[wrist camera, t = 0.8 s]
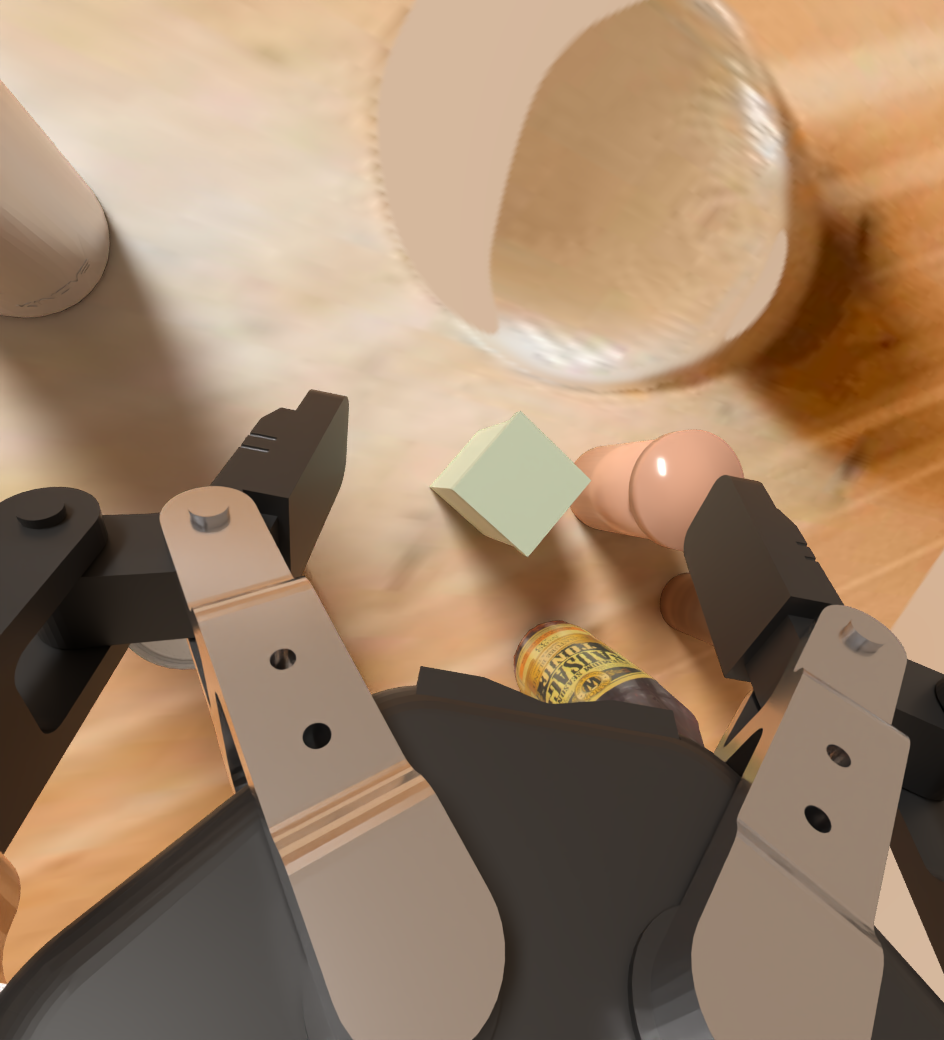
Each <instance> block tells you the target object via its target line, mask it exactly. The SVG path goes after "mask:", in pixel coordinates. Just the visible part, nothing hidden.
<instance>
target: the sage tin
mask: <svg viewBox="0 0 944 1040" xmlns="http://www.w3.org/2000/svg"><path fill="white" fill-rule="evenodd" d="M590 482H591V480H590V479H589V478H588V477H587V476H586V475H585V474H584V473H583V472H582V471H581V470H580V469H579V468H578V467H577V466H576V465H575V464H574V463H573V462H572V461H571V460H570V459H569V458H568V457H567V456H566V455H565V454H564V453H563V452H562V451H561V450H560V449H559V448H558V447H557V446H556V445H555V444H554V443H553V442H552V441H551V440H550V439H549V438H548V437H547V436H546V435H545V434H544V433H543V432H542V431H541V430H540V429H539V428H537V427H536V426H535V425H534V424H533V423H532V422H531V421H530V420H529V419H528V418H527V417H526V416H525V415H524V414H523V413H522V412H521V411H519V412H516V413H515V414H514V415H513V416H512V418H511V419H510V420H509V421H506V422H503V423H500V424H497V425H494V426H491V427H488V428H485V429H482V430H479V431H477V433H476V434H475V435H474V436H473V437H472V438H471V439H470V441H469V442H468V443H467V444H466V445H465V446H464V448H463V449H462V450H461V451H460V452H459V453H458V454H457V456H456V457H455V458H454V459H453V460H452V461H451V463H450V464H449V465H448V466H447V467H446V468H445V469H444V471H443V472H442V473H441V474H440V475H439V476H438V478H437V479H436V480H435V481H434V482H433V483H432V484H431V486H430V488H431V489H432V490H434V491H435V492H436V493H437V494H438V495H439V496H440V497H441V498H443V499H444V500H445V501H446V502H447V503H448V504H449V505H450V506H452V507H453V508H454V509H455V510H456V511H457V512H458V513H459V514H461V515H462V516H463V517H464V518H465V519H466V520H467V521H468V522H470V523H471V524H472V525H473V526H474V527H475V528H476V529H477V530H479V531H480V532H481V533H482V534H483V535H484V536H487V537H490V538H492V539H495V540H498V541H500V542H503V543H506V544H508V545H511V546H513V547H514V548H516V549H517V550H518V551H519V552H520V553H521V554H522V555H524V556H526V557H528V556H529V555H530V554H531V553H532V552H533V550H534V549H535V548H536V547H537V546H538V544H539V543H540V542H541V541H542V539H543V538H544V537H545V536H546V535H547V533H548V532H549V531H550V530H551V529H552V527H553V526H554V525H555V524H556V523H557V521H558V520H559V519H560V518H561V517H562V515H563V514H564V513H565V512H566V511H567V509H568V508H569V507H570V506H571V504H572V503H573V502H574V501H575V500H576V498H577V497H578V496H579V495H580V494H581V492H582V491H583V490H584V489H585V488H586V486H587V485H588V484H589V483H590Z"/></svg>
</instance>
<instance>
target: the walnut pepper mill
mask: <svg viewBox="0 0 944 1040" xmlns="http://www.w3.org/2000/svg"><path fill="white" fill-rule="evenodd" d="M660 609H661V613H662V616H663V618H664V620H665V621H666V622H667V624H668V625H670V626H671V627H673V628H675V629H677V630H679V631H681V632H684V633H686V634H688V635H690V636H693V637H695V638H697V639H700V640H702V641H704V642H706V643H709V644H711V645H713V646H714V644H713V641H712V638H711V635H710V632H709V629H708V626H707V623H706V620H705V617H704V614H703V611H702V608H701V605H700V602H699V599H698V596H697V593H696V590H695V587H694V584H693V581H692V578H691V575H690V573H683V574H680V575H677V576H675V577H674V578H672V579H671V580H670V581H669V582H668V583H667V585H666V586H665V588H664V590H663V592H662V595H661V599H660Z"/></svg>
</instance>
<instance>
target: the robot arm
mask: <svg viewBox="0 0 944 1040" xmlns="http://www.w3.org/2000/svg"><path fill="white" fill-rule="evenodd" d="M109 247H110V240H109V230H108V224H107V221H106V218H105V215H104V212H103V209H102V207H101V205H100V203H99V201H98V200H97V198H96V196H95V194H94V193H93V191H92V190H91V188H90V187H89V186H88V185H87V184H86V182H85V181H84V180H83V179H82V178H81V176H80V175H79V174H78V173H77V171H76V170H75V169H74V168H73V167H72V165H71V164H70V163H69V162H68V161H67V159H66V158H65V157H64V156H63V155H62V153H61V152H60V151H59V150H58V148H57V147H56V146H55V144H54V143H53V142H52V141H51V139H50V138H49V137H48V136H47V135H46V133H45V132H44V131H43V130H42V129H41V128H40V126H39V125H38V124H37V123H36V122H35V120H34V119H33V118H32V117H31V116H30V114H29V113H28V112H27V111H26V110H25V108H24V107H23V106H22V105H21V104H20V102H19V101H18V100H17V99H16V98H15V96H14V95H13V94H12V93H11V92H10V90H9V89H8V88H7V87H6V86H5V84H4V83H3V82H2V81H1V80H0V315H4V316H13V317H21V318H26V317H41V316H46V315H50V314H53V313H57V312H61V311H63V310H65V309H67V308H69V307H71V306H73V305H74V304H76V303H78V302H79V301H80V300H82V299H83V298H84V297H85V296H86V295H87V294H89V293H90V292H91V291H92V290H93V288H94V287H95V285H96V284H97V283H98V281H99V280H100V278H101V277H102V274H103V272H104V269H105V267H106V264H107V262H108V255H109ZM348 413H349V401H348V397H347V396H342V395H337V394H332V393H327V392H322V391H317V390H312V389H311V390H310V391H309V392H308V393H307V395H306V396H305V398H304V399H303V401H302V402H301V404H300V405H299V406H298V408H297V409H296V411H295V410H290V409H285V408H279V409H278V410H276V411H274V412H272V413H270V414H268V415H266V416H264V417H262V418H261V419H260V420H259V422H258V423H257V424H256V426H255V427H254V428H253V430H252V431H251V432H250V435H248V436H247V437H246V439H245V440H244V441H243V443H242V445H241V447H239V448H238V449H237V451H236V452H235V453H234V455H233V456H232V457H231V459H230V460H229V461H228V462H227V464H226V465H225V466H224V468H223V469H222V470H221V472H220V473H219V474H218V476H217V477H216V478H215V480H214V481H213V482H212V484H211V485H210V486H206V487H199V488H194V489H190V490H187V491H185V492H182V493H180V494H178V495H176V496H175V497H173V498H172V499H170V500H169V501H168V502H167V503H166V504H165V505H164V507H163V508H162V510H161V512H160V513H153V514H130V515H102V513H101V510H100V506H99V503H98V502H97V500H96V499H95V498H94V497H93V496H92V495H90V494H88V493H87V492H84V491H81V490H78V489H74V488H66V487H48V488H40V489H34V490H30V491H26V492H23V493H20V494H17V495H14V496H12V497H10V498H8V499H6V500H4V501H2V502H1V503H0V1040H944V1002H943V1001H942V1000H940V998H939V997H938V996H937V995H936V994H935V993H934V991H933V990H932V989H931V988H930V987H929V986H928V985H927V984H926V982H925V981H924V980H923V979H922V978H921V977H920V976H919V975H918V974H917V973H916V971H915V970H914V969H913V968H912V967H911V966H910V965H909V964H908V962H906V960H905V959H904V958H903V957H902V956H901V955H900V954H899V953H898V951H897V950H896V949H895V948H894V947H893V946H892V945H891V944H890V942H889V941H888V940H887V939H886V938H885V937H884V936H883V935H882V934H881V932H880V931H879V930H878V929H877V928H876V927H875V926H874V919H875V914H876V909H877V904H878V899H879V894H880V890H881V885H882V880H883V875H884V870H885V865H886V860H887V856H888V851H889V846H890V848H891V850H892V852H893V855H894V857H895V860H896V862H897V864H898V867H899V869H900V871H901V874H902V876H903V878H904V881H905V883H906V885H907V888H908V890H909V893H910V895H911V897H912V900H913V902H914V904H915V907H916V909H917V911H918V914H919V916H920V919H921V921H922V923H923V926H924V928H925V930H926V933H927V935H928V937H929V940H930V942H931V945H932V947H933V949H934V951H935V954H936V956H937V958H938V961H939V963H940V966H941V968H942V971H943V973H944V674H942V673H939V672H937V671H935V670H932V669H930V668H927V667H925V666H923V665H920V664H918V663H915V662H913V661H911V660H908V659H907V656H906V652H905V650H904V647H903V646H902V644H901V642H900V641H899V640H898V639H897V637H896V636H895V635H894V634H893V633H892V632H891V631H890V630H889V629H888V628H887V627H886V626H884V625H883V624H882V623H880V622H879V621H878V620H876V619H875V618H873V617H871V616H870V615H868V614H866V613H864V612H862V611H860V610H857V609H855V608H852V607H848V606H844V604H843V603H842V601H841V599H840V598H839V596H838V594H837V593H836V591H835V589H834V588H833V586H832V584H831V583H830V581H829V579H828V578H827V576H826V574H825V573H824V571H823V569H822V568H821V566H820V564H819V563H818V562H816V561H815V559H816V558H815V556H814V554H813V553H812V551H811V549H810V548H809V547H807V543H806V541H805V539H804V538H803V536H802V534H801V533H800V531H799V529H798V528H797V526H796V525H795V524H794V523H793V522H792V521H791V520H790V519H789V518H787V517H786V516H785V515H784V514H783V513H782V512H781V511H780V510H779V509H777V508H776V507H775V505H774V503H773V501H772V500H771V498H770V496H769V494H768V493H767V491H766V489H765V488H764V486H763V484H762V483H760V482H758V481H754V480H749V479H744V478H739V477H734V476H729V475H722V476H721V477H719V478H718V479H717V480H716V481H715V483H714V485H713V486H712V488H711V490H710V491H709V493H708V495H707V497H706V498H705V500H704V502H703V504H702V505H701V507H700V509H699V511H698V512H697V514H696V516H695V517H694V519H693V521H692V523H691V524H690V526H689V528H688V530H687V532H686V536H685V540H684V557H685V560H686V563H687V566H688V569H689V572H690V575H691V578H692V581H693V584H694V587H695V590H696V593H697V596H698V599H699V602H700V605H701V608H702V611H703V614H704V617H705V620H706V623H707V626H708V629H709V632H710V635H711V638H712V641H713V644H714V647H715V650H716V653H717V656H718V659H719V662H720V666H721V669H722V672H723V675H724V677H725V678H730V679H736V680H741V681H747V682H751V684H752V687H753V689H752V690H751V691H750V692H749V693H748V695H747V696H746V697H745V698H744V699H743V701H742V703H741V705H740V707H739V708H738V710H737V712H736V714H735V716H734V717H733V719H732V721H731V723H730V725H729V726H728V728H727V730H726V732H725V734H724V735H723V737H722V739H721V741H720V743H719V744H718V746H717V748H716V750H715V752H714V753H712V752H711V751H709V750H708V749H706V748H705V747H703V746H702V745H700V744H699V743H697V742H695V741H693V740H691V739H689V738H687V737H686V736H684V735H682V734H680V733H678V730H677V726H676V722H675V717H674V713H673V710H667V709H661V708H656V707H650V706H644V705H639V704H633V703H627V702H622V701H616V700H603V701H589V702H575V703H560V704H550V703H546V702H543V701H540V700H538V699H535V698H533V697H530V696H528V695H526V694H523V693H521V692H518V691H516V690H513V689H511V688H509V687H506V686H504V685H501V684H499V683H497V682H494V681H492V680H489V679H487V678H485V677H480V676H474V675H468V674H463V673H457V672H451V671H446V670H440V669H434V668H428V667H423V666H421V667H420V671H419V676H418V681H417V685H416V686H403V687H398V688H393V689H388V690H385V691H381V692H378V693H375V694H372V695H371V694H370V692H369V690H368V688H367V686H366V684H365V682H364V681H363V679H362V677H361V675H360V673H359V671H358V669H357V668H356V666H355V664H354V662H353V660H352V658H351V656H350V655H349V653H348V651H347V649H346V647H345V645H344V643H343V642H342V640H341V638H340V636H339V634H338V632H337V630H336V629H335V627H334V625H333V623H332V621H331V619H330V617H329V616H328V614H327V612H326V610H325V608H324V606H323V604H322V603H321V601H320V599H319V597H318V595H317V593H316V591H315V590H314V588H313V586H312V584H311V583H310V581H309V580H308V579H307V578H306V577H304V576H301V575H302V573H303V571H304V568H305V566H306V564H307V562H308V559H309V557H310V555H311V553H312V550H313V548H314V546H315V544H316V541H317V539H318V537H319V535H320V532H321V530H322V528H323V525H324V523H325V521H326V519H327V516H328V514H329V512H330V510H331V507H332V505H333V503H334V501H335V498H336V496H337V494H338V492H339V489H340V487H341V484H342V480H343V476H344V471H345V465H346V452H347V432H348ZM185 638H186V640H187V643H188V646H189V649H190V652H191V655H192V659H193V662H194V665H195V668H196V671H197V674H198V677H199V681H200V684H201V687H202V690H203V693H204V696H205V699H206V703H207V706H208V709H209V712H210V715H211V718H212V722H213V725H214V728H215V732H216V736H217V740H218V743H219V747H220V751H221V755H222V758H223V762H224V765H225V768H226V772H227V775H228V778H229V781H230V784H231V788H232V791H233V794H234V795H233V796H232V797H230V798H229V799H228V800H226V801H225V802H224V803H223V804H221V805H220V806H219V807H218V808H216V809H215V810H214V811H213V812H211V813H210V814H209V815H207V816H206V817H205V818H204V819H202V820H201V821H200V822H199V823H197V824H196V825H195V826H194V827H192V828H191V829H190V830H189V831H187V832H186V833H185V834H183V835H182V836H181V837H180V838H178V839H177V840H176V841H175V842H173V843H172V844H171V845H170V846H168V847H167V848H166V849H164V850H163V851H162V852H161V853H159V854H158V855H157V856H156V857H154V858H153V859H152V860H151V861H149V862H148V863H147V864H145V865H144V866H143V867H142V868H140V869H139V870H138V871H137V872H135V873H134V874H133V875H132V876H130V877H129V878H128V879H126V880H125V881H124V882H123V883H121V884H120V885H119V886H118V887H116V888H115V889H114V890H113V891H111V892H110V893H109V894H107V895H106V896H105V897H104V898H102V899H101V900H100V901H99V902H97V903H96V904H95V905H94V906H92V907H91V908H90V909H88V910H87V911H86V912H85V913H83V914H82V915H81V916H80V917H78V918H77V919H76V920H75V921H73V922H72V923H71V924H69V925H68V926H67V927H66V928H64V929H63V930H62V931H61V932H59V933H58V934H57V935H56V936H55V937H53V938H52V939H51V940H50V941H49V942H47V943H46V944H45V945H44V946H43V947H42V948H41V949H40V950H39V951H38V952H37V953H36V954H35V955H34V956H33V957H32V958H31V959H30V960H29V961H28V962H27V963H26V964H25V965H24V966H23V967H22V968H21V969H20V970H19V971H18V972H17V973H16V975H15V976H14V977H13V978H12V979H11V980H10V982H9V983H8V984H7V983H6V980H5V977H4V973H3V965H2V960H3V949H4V945H5V941H6V936H7V934H8V931H9V929H10V926H11V924H12V921H13V919H14V916H15V914H16V912H17V908H18V904H19V900H20V890H21V886H20V879H19V876H18V873H17V871H16V869H15V868H14V866H13V865H12V864H11V862H10V861H9V860H8V859H7V858H6V857H5V856H4V855H3V854H4V853H5V851H6V849H7V848H8V846H9V844H10V843H11V841H12V839H13V838H14V836H15V834H16V833H17V831H18V829H19V828H20V826H21V824H22V823H23V821H24V819H25V818H26V816H27V815H28V813H29V811H30V810H31V808H32V806H33V805H34V803H35V801H36V800H37V798H38V796H39V795H40V793H41V791H42V790H43V788H44V786H45V785H46V783H47V781H48V780H49V778H50V776H51V775H52V773H53V771H54V770H55V768H56V766H57V765H58V763H59V761H60V760H61V758H62V756H63V755H64V753H65V752H66V750H67V748H68V747H69V745H70V743H71V742H72V740H73V738H74V737H75V735H76V733H77V732H78V730H79V728H80V727H81V725H82V723H83V722H84V720H85V718H86V717H87V715H88V713H89V712H90V710H91V708H92V707H93V705H94V703H95V702H96V700H97V698H98V697H99V695H100V693H101V692H102V690H103V689H104V687H105V685H106V684H107V682H108V680H109V679H110V677H111V675H112V674H113V672H114V670H115V669H116V667H117V665H118V664H119V662H120V660H121V659H122V657H123V655H124V654H125V652H126V650H127V649H128V647H129V645H130V644H132V643H143V642H153V641H164V640H175V639H185Z"/></svg>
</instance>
